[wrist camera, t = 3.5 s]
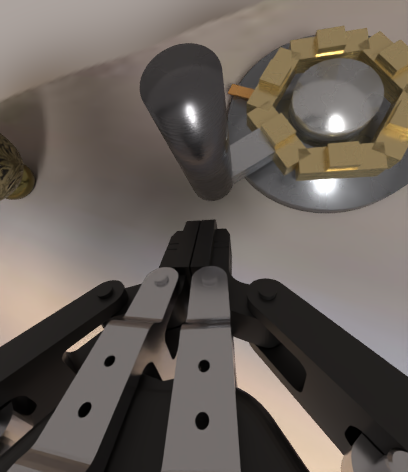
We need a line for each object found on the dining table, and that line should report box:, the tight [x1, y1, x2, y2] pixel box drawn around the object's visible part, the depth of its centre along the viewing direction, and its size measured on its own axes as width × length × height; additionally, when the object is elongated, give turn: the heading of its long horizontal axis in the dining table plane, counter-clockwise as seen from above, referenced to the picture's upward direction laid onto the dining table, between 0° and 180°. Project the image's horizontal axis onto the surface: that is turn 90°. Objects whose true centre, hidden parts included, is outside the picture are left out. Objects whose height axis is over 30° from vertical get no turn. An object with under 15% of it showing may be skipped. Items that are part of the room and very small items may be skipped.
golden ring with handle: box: [140, 26, 408, 201], centre depth 12 cm, size 17×12×9 cm
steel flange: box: [228, 35, 408, 213], centre depth 16 cm, size 15×15×3 cm
